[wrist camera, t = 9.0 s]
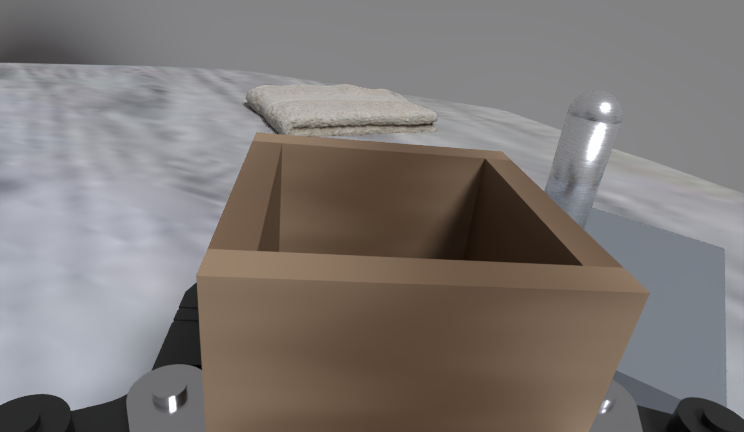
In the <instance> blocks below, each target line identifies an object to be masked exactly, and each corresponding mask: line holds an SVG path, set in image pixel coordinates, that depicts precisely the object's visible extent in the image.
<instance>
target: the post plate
mask: <svg viewBox="0 0 744 432" xmlns="http://www.w3.org/2000/svg"><path fill="white" fill-rule="evenodd" d="M621 121H622V108H621V105H620V103H619V101H618V100H617V99H616V98H615V97H614V96H613V95H612V94H610V93H608V92H605V91H599V90H597V91H596V90H595V91H589V92H586V93H583V94H582V95H580V96H579V97H577V98H576V99H575V100H574V101H573V102H572V104H571V105H570V107H569V109H568V112H567V115H566V119H565V122H564V126H563V129H562V133H561V136H560V139H559V143H558V146H557V150H556V153H555V157H554V160H553V163H552V167H551V170H550V174H549V177H548V181H547V184H546V187H545V191H544V192H545V193H546V194H547V195H548V196H549V197H550V198H551V199H552V200H553V201H554V202H555V203H556V204H557V205H559V206H560V207H561V208H562V209H563V210H564V211H565V212H566V213H567V214H568V215H569V216H570V217H571V218H572V219H573V220H574V221H575V222H576V223H577V224H578V225H579V226H580V227H582V228H583V229H584V230H585V231H586V232H587V233H588V234H589V235H590V236H591V237H592V238H593V239H594V240H595V241H596V242H597V243H598V244H599V245H600V246H601V247H602V248H604V249H605V250H606V251H607V252H608V253H609V254H610V255H611V256H612V257H613V258H614V259H615V260H616V261H617V262H618V263H619V264H620V265H621V266H622V267H623V268H624V269H626V270H627V271H628V272H629V273H630V274H631V275H632V276H633V277H634V278H635V279H636V280H637V281H638V282H639V283H640V284H641V285H642V286H643V287H644V288H645V289H646V290H647V291H649V292H650V294H649V297H648V299H647V301H646V304H645V306H644V308H643V310H642V313H641V315H640V317H639V319H638V322H637V324H636V326H635V329H634V331H633V333H632V335H631V338H630V340H629V342H628V344H627V347H626V349H625V351H624V354H623V356H622V358H621V360H620V363H619V365H618V367H617V369H616V372H615V374H614V376H613V379H612V380H614V381H616V382H617V383H619V384H620V385H621V386H622V387H624V388H625V389H626V390H627V391H628V392H629V393H630V395H631V396H632V397H633V399H634V401H635V403H636V405H639V406H643V407H647V408H651V409H654V410H658V411H662V412H666V413H670V414H673V413H674V411H675V409H676V407H677V405H678V403H679V402H680V401H681V400H682V399H684V398H688V397H699V398H704V399H707V400H711V401H713V402H716V403H718V404H720V405H722V406H724V407H726V408H727V403H726V328H725V253H724V248H721V247H718V246H714V245H711V244H708V243H705V242H701V241H698V240H695V239H692V238H688V237H685V236H682V235H679V234H676V233H672V232H669V231H666V230H663V229H659V228H656V227H653V226H650V225H646V224H643V223H640V222H637V221H634V220H630V219H627V218H624V217H621V216H617V215H614V214H611V213H608V212H605V211H601V210H598V209H595V208H592V205H593V202H594V199H595V197H596V194H597V191H598V188H599V185H600V182H601V179H602V176H603V173H604V170H605V167H606V165H607V162H608V159H609V156H610V153H611V150H612V147H613V144H614V141H615V138H616V135H617V133H618V130H619V127H620V124H621Z"/></svg>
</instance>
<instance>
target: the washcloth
mask: <svg viewBox="0 0 744 432" xmlns="http://www.w3.org/2000/svg"><path fill="white" fill-rule="evenodd" d="M246 100H247V101H248V104H249V105H250V106H251V108H252V109H253V110H254V111H256V112H257V113H258V114H259V115H262V116H263V117H264V118H265V119H266V121H267V123H268V124H270V126H272V128H274V129H275V131H276V132H278V133H279V134H282V135H295V136H308V137H322V136H344V135H345V136H350V135H367V134H389V133H415V132H416V133H418V132H436V127H435V125H434V124H433V122H436V121H437V119H438V117H437V113H435V112H433V111H432V110H430V109H428V108H425V107H421V106H418V105H415V104H412V103H410V102H408V101H407V100H406V99H405V98H404V97H402V96H401V95H400V94H398V93H394V92H391V91H389V90H387V89H373V90H372V89H367V88H360V87H356V86H353V85H349V84H340V85H336V86H314V85H309V84H308V85H303V84H301V85H287V86H272V85H263V86H258V87H255V88H253V89H251V90H249V91H248V93H247V95H246Z"/></svg>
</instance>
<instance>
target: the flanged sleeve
mask: <svg viewBox="0 0 744 432" xmlns="http://www.w3.org/2000/svg"><path fill="white" fill-rule="evenodd" d="M196 277H197V294H198V311H199V328H200V345H201V361H202V378H203V395H204V412H205V429H206V432H589V431H590V429H591V426H592V424H593V422H594V420H595V417H596V415H597V413H598V410H599V408H600V406H601V404H602V401H603V399H604V397H605V395H606V392H607V390H608V388H609V385H610V383H611V381H612V379H613V376H614V374H615V372H616V369H617V367H618V365H619V363H620V360H621V358H622V356H623V354H624V351H625V349H626V347H627V344H628V342H629V340H630V338H631V335H632V333H633V331H634V329H635V326H636V324H637V322H638V319H639V317H640V315H641V313H642V310H643V308H644V306H645V304H646V301H647V299H648V297H649V294H650V292H649V291H647V290H646V289H645V288H644V287H643V286H642V285H641V284H640V283H639V282H638V281H637V280H636V279H635V278H634V277H633V276H632V275H631V274H630V273H629V272H628V271H627V270H626V269H624V268H623V267H622V266H621V265H620V264H619V263H618V262H617V261H616V260H615V259H614V258H613V257H612V256H611V255H610V254H609V253H608V252H607V251H606V250H605V249H604V248H602V247H601V246H600V245H599V244H598V243H597V242H596V241H595V240H594V239H593V238H592V237H591V236H590V235H589V234H588V233H587V232H586V231H585V230H584V229H583V228H582V227H580V226H579V225H578V224H577V223H576V222H575V221H574V220H573V219H572V218H571V217H570V216H569V215H568V214H567V213H566V212H565V211H564V210H563V209H562V208H561V207H560V206H559V205H557V204H556V203H555V202H554V201H553V200H552V199H551V198H550V197H549V196H548V195H547V194H546V193H545V192H544V191H543V190H542V189H541V188H540V187H539V186H538V185H537V184H535V183H534V182H533V181H532V180H531V179H530V178H529V177H528V176H527V175H526V174H525V173H524V172H523V171H522V170H521V169H520V168H519V167H518V166H517V165H516V164H515V163H513V162H512V161H511V160H510V159H509V158H508V157H507V156H506V155H505V154H504V153H503V152H500V151H487V150H474V149H462V148H449V147H436V146H423V145H410V144H398V143H385V142H372V141H359V140H346V139H334V138H321V137H308V136H295V135H282V134H270V133H257V132H256V134H255V137H254V139H253V141H252V144H251V146H250V149H249V151H248V153H247V156H246V158H245V161H244V163H243V165H242V168H241V170H240V173H239V175H238V177H237V180H236V182H235V185H234V187H233V189H232V192H231V194H230V197H229V199H228V201H227V204H226V206H225V209H224V211H223V213H222V216H221V218H220V221H219V223H218V225H217V228H216V230H215V233H214V235H213V237H212V240H211V242H210V244H209V247H208V249H207V252H206V254H205V256H204V259H203V261H202V264H201V266H200V268H199V271H198V273H197V276H196Z"/></svg>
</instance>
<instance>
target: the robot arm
mask: <svg viewBox="0 0 744 432" xmlns="http://www.w3.org/2000/svg"><path fill="white" fill-rule="evenodd" d="M0 432H206V429H205V412H204V395H203V378H202V361H201V345H200V328H199V311H198V294H197V283H195V284H194V285H193V286H192V287H191V288H190V289H188V290H187V291H186V292H185V294H184V297H183V299H182V301H181V304H180V306H179V310H178V311H177V313H176V315H175V317H174V322H173V323H172V324H171V327H170V329H169V331H168V334H167V336H166V338H165V341H164V343H163V345H162V348H161V350H160V352H159V355H158V357H157V359H156V362H155V364H154V366H153V369H152V371H150V372H149V373H147V374H145V375H144V376H142V377H141V378H140V379H139V380H138V381H136V382H135V383H134V385H133V386H132V387H131V389H130V391H129V393H128V394H127V395H125V396H123V397H121V398H119V399H116V400H113V401H111V402H107V403H104V404H100V405H96V406H91V407H87V408H83V409H79V410H74V411H71V410H70V407H69V405H68V404H67V403H66V402H65V401H64V400H63V399H61V398H59V397H57V396H53V395H47V394H36V395H29V396H24V397H20V398H17V399H14V400H11V401H8V402H6V403H4V404H2V405H0ZM589 432H744V419H742V418H741V417H740V416H739V415H737V414H736V413H734V412H733V411H731V410H730V409H728V408H726V407H724V406H722V405H720V404H718V403H716V402H713V401H711V400H707V399H704V398H699V397H688V398H684V399H682V400H681V401H680V402H679V403H678V405H677V407H676V409H675V411H674V413H673V414H670V413H666V412H662V411H658V410H654V409H651V408H647V407H643V406H639V405H636V403H635V401H634V399H633V397H632V396H631V395H630V393H629V392H628V391H627V390H626V389H625V388H624V387H622V386H621V385H620V384H619V383H617V382H616V381H614V380H612V381H611V383H610V385H609V388H608V390H607V392H606V395H605V397H604V399H603V401H602V404H601V406H600V408H599V410H598V413H597V415H596V417H595V420H594V422H593V424H592V426H591V429H590V431H589Z"/></svg>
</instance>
